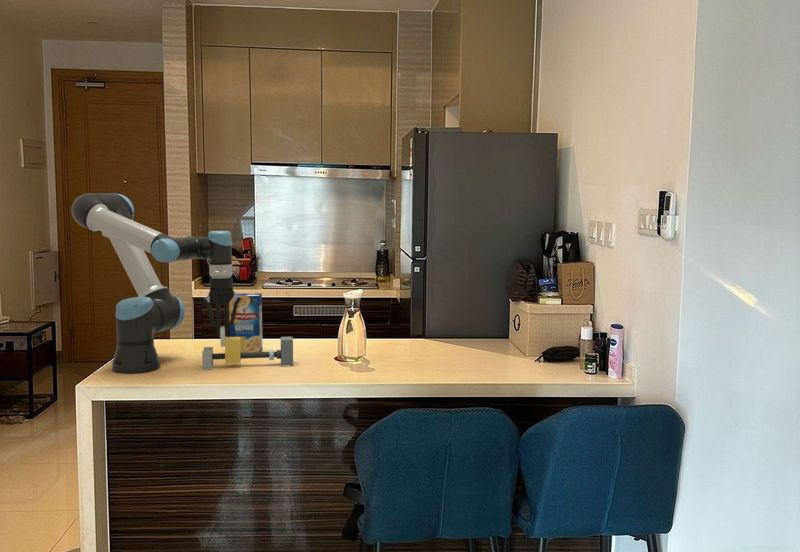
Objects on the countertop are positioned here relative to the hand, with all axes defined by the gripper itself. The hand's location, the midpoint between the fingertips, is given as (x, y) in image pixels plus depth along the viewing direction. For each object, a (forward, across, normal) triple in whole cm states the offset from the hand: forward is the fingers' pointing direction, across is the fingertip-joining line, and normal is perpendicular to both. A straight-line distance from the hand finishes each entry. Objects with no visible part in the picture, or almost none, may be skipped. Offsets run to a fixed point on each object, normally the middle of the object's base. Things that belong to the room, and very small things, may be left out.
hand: (223, 345), depth 248 cm
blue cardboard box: (+7, +7, +20) cm, 23 cm away
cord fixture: (+7, +8, 0) cm, 11 cm away
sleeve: (+6, +3, 0) cm, 6 cm away
